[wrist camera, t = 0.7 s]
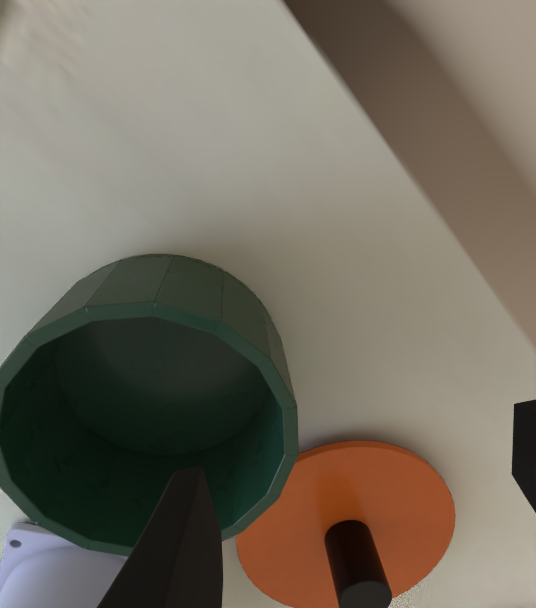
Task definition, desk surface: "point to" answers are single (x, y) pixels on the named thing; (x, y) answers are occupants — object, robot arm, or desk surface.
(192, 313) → the tin
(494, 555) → the desk surface
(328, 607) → the lid
